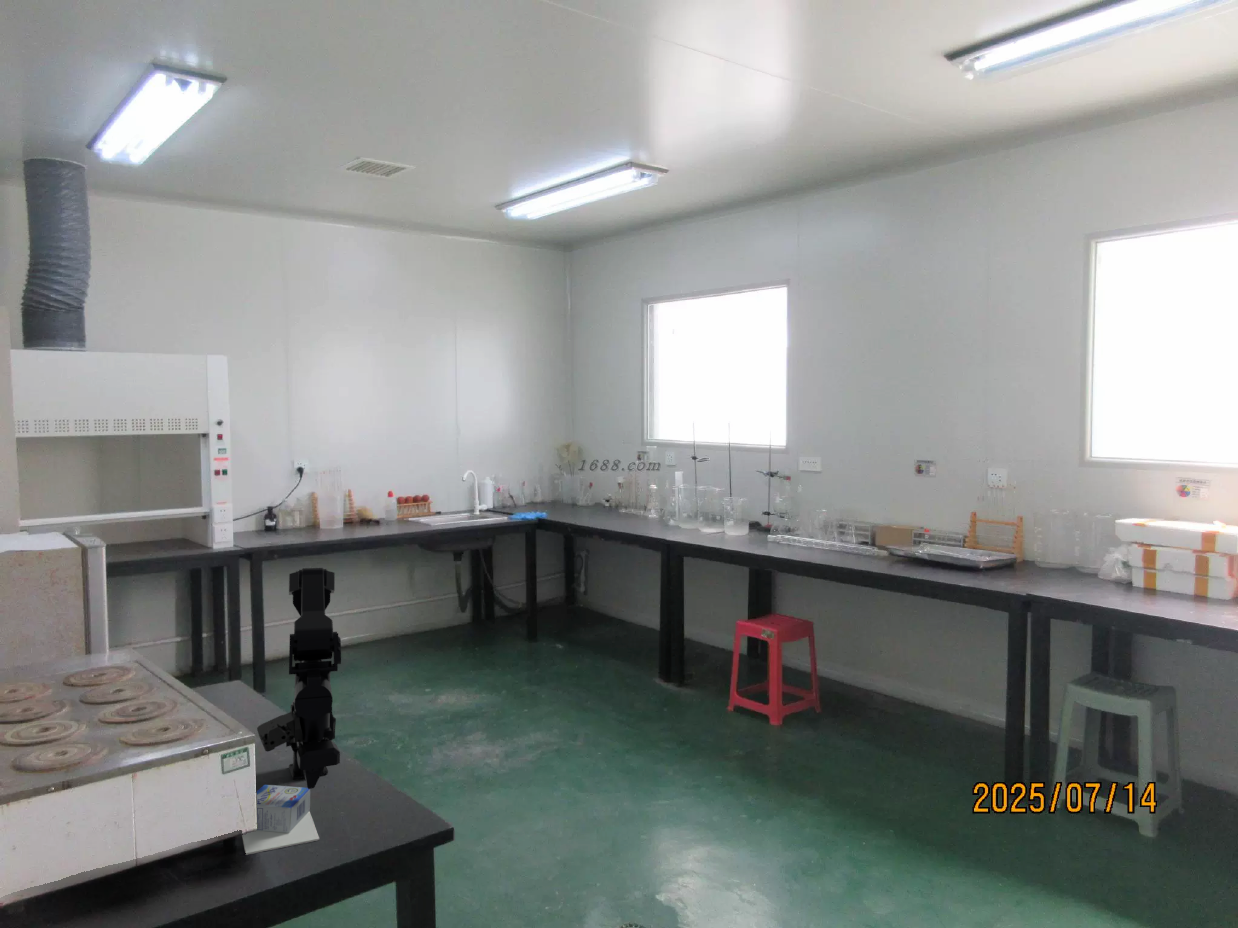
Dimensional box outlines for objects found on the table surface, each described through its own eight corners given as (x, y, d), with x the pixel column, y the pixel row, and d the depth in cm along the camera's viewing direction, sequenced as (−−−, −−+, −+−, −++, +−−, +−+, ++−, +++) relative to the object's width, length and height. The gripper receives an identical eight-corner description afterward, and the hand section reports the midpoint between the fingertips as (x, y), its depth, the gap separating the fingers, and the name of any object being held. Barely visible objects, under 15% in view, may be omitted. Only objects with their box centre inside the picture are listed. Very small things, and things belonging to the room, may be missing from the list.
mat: (239, 821, 143) (239, 819, 143) (308, 808, 149) (308, 806, 149) (245, 854, 133) (245, 852, 133) (319, 839, 138) (319, 838, 138)
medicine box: (290, 808, 139) (240, 804, 140) (290, 833, 139) (239, 829, 140) (311, 787, 147) (263, 783, 147) (310, 811, 147) (262, 807, 148)
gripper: (255, 687, 146) (254, 774, 147) (267, 724, 130) (266, 821, 131) (322, 680, 151) (320, 763, 152) (341, 714, 135) (339, 807, 136)
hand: (310, 787), depth 143 cm, fingers closed
